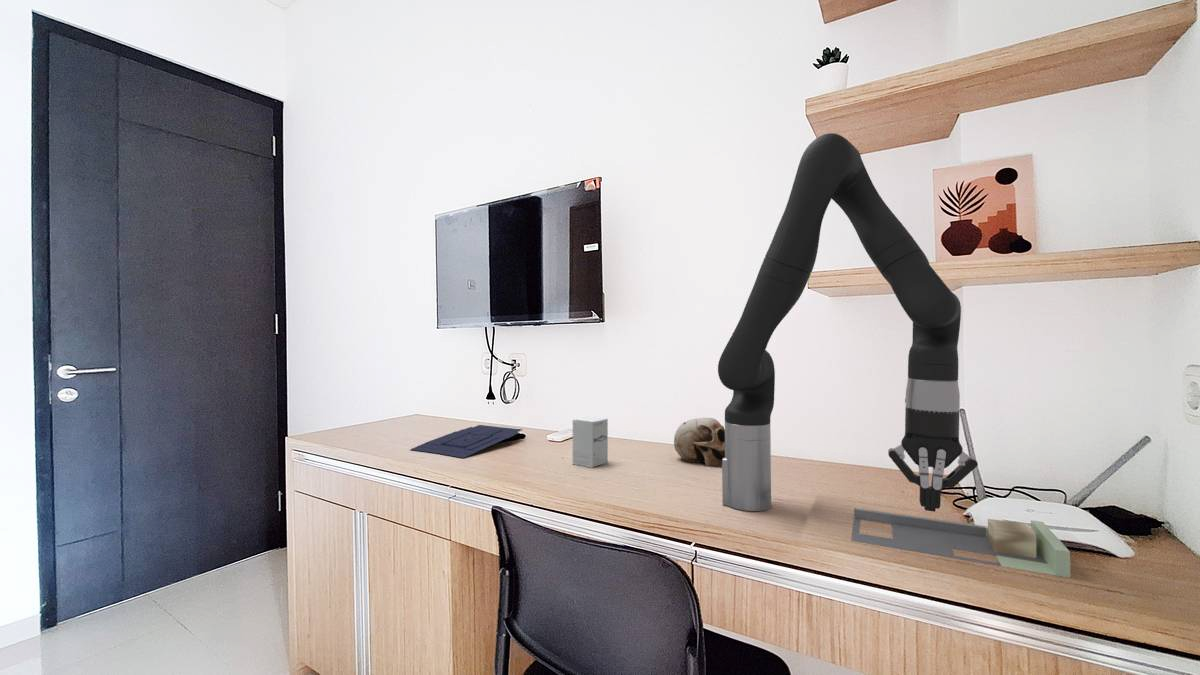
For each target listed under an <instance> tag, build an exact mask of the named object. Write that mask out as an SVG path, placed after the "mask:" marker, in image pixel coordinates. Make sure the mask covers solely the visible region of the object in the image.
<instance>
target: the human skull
mask: <svg viewBox="0 0 1200 675" xmlns="http://www.w3.org/2000/svg"><path fill="white" fill-rule="evenodd" d="M673 439H674V440H673V447H674V450H675V451H676V453H677V455H679V456H680V457H681V459H682V460H684V461H686V462H689V463H704V464H705V466H707V467H711V466H712V467H717V468H718V467H720V468H722V460H723V458H725V426H724V425H722V424H721V423H720V421H719V420H717V419H715V418H713V417H699V418H697V417H696V418H691V419H688V420H686V421H684V422H682V423H681V424H679V426H678V427H677V429H676V431H675V433H674V438H673Z"/></svg>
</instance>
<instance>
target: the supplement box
mask: <svg viewBox="0 0 1200 675" xmlns="http://www.w3.org/2000/svg"><path fill="white" fill-rule="evenodd" d="M608 424H609V423H608V418H605V417H596V416H586V417H581V418H576V419H573V420H572V464H573V465H575V466H580V467H586V468H591V469H592V468H595V467H598V466H600V465H603V464H604V465H605V464H608V456H609V455H608V453H609V451H608V450H609V449H608V448H609V447H608V446H609V444H608V440H609V439H608V438H609V437H608V435H609V433H608V432H609V431H608V427H609V426H608Z"/></svg>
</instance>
